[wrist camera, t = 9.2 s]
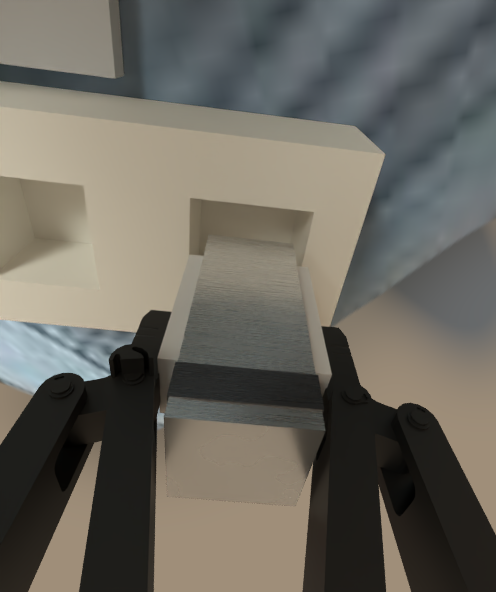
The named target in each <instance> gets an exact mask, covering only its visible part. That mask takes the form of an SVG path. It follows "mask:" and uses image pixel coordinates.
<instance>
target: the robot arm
mask: <svg viewBox="0 0 496 592" xmlns="http://www.w3.org/2000/svg"><path fill="white" fill-rule="evenodd" d="M202 260H203V256H198V255H189V258H188V261H187V264H186V267H185V271H184V274H183V277H182V280H181V283H180V287H179V290H178V293H177V296H176V300H175V303H174V306H173V309H172V312H169V311H159V310H150V311H149V312H148V313H147V314H146V315H145V316H144V317H143V318H142V320H141V322H140V325H139V328H138V330H137V332H136V336H135V337H134V340H133V342H132V344H130V345H124V346H122V347H120V348H118V349H116V350H115V351H114V352H113V353H112V354H111V356H110V358H109V365H110V371H111V375H110V376H108V377H106V378H102V379H97V380H91V381H85V382H84V380H83V379H82V378H81V377H80V376H79V375H77V374H73V373H61V374H58V375H54V376H52V377H51V378H49V379H47V380H46V381H45V382H44V383H43V384H42V385H41V386H40V387H39V388H38V390H37V391H36V393H35V394H34V396H33V398H32V399H31V400H30V402H29V403H28V405H27V406H26V408H25V409H24V411H23V412H22V414H21V415H20V417H19V418H18V420H17V421H16V423H15V424H14V426H13V427H12V428H11V430H10V431H9V433H8V434H7V436H6V437H5V439H4V440H3V442H2V444H1V445H0V592H28V590H29V588H30V585H31V584H32V581H33V579H34V577H35V575H36V572H37V570H38V568H39V566H40V563H41V561H42V559H43V557H44V554H45V552H46V550H47V547H48V545H49V543H50V541H51V539H52V536H53V534H54V532H55V530H56V527H57V525H58V523H59V521H60V518H61V516H62V514H63V512H64V509H65V507H66V505H67V503H68V500H69V498H70V496H71V494H72V491H73V489H74V487H75V485H76V482H77V480H78V478H79V476H80V473H81V471H82V469H83V467H84V464H85V462H86V460H87V458H88V455H89V453H90V451H91V449H92V446H93V444H94V442H98V441H102V445H101V451H100V458H99V465H98V471H97V477H96V484H95V491H94V497H93V504H92V511H91V517H90V524H89V530H88V537H87V544H86V550H85V556H84V563H83V570H82V576H81V583H80V589H79V592H154V546H155V499H156V452H157V450H156V449H157V413H158V409H159V405H160V413H165V410H166V406H167V393H168V389H169V385H170V381H171V377H172V373H173V369H174V365H175V361H176V362H178V358H179V354H180V349H181V345H182V341H183V337H184V333H185V329H186V325H187V321H188V317H189V313H190V309H191V305H192V301H193V297H194V293H195V288H196V284H197V280H198V276H199V272H200V268H201V264H202ZM297 269H298V275H299V280H300V286H301V292H302V298H303V304H304V309H305V315H306V321H307V327H308V332H309V338H310V344H311V350H312V356H313V361H314V367H315V373H316V375H318V377H319V383H320V388H321V394H322V399H323V405H324V412H323V419H324V425H325V434H324V436H323V439H322V441H321V444H320V446H319V449H318V451H317V454H316V456H315V459H314V461H313V471H312V483H311V496H310V509H309V520H308V533H307V545H306V557H305V569H304V581H303V592H386V583H385V569H384V555H383V542H382V528H381V515H380V500H379V487H380V491H381V493H382V497H383V500H384V503H385V507H386V510H387V513H388V517H389V520H390V523H391V526H392V530H393V533H394V536H395V540H396V543H397V546H398V550H399V553H400V556H401V559H402V563H403V566H404V569H405V572H406V576H407V579H408V582H409V586H410V589H411V592H496V535H495V533H494V531H493V529H492V527H491V525H490V523H489V521H488V519H487V517H486V515H485V513H484V511H483V509H482V507H481V505H480V503H479V501H478V499H477V497H476V495H475V493H474V492H473V489H472V488H471V485H470V484H469V482H468V480H467V478H466V476H465V474H464V472H463V470H462V468H461V466H460V464H459V462H458V460H457V458H456V456H455V454H454V452H453V451H452V448H451V446H450V444H449V442H448V440H447V438H446V436H445V434H444V433H443V430H442V428H441V426H440V425H439V423H438V421H437V419H436V418H435V417H434V415H433V414H432V413H431V412H429V411H428V410H427V409H426V408H424V407H422V406H420V405H418V404H413V403H405V404H402V405H401V406H399V407H398V409H394V408H392V407H389V406H386V405H383V404H381V403H379V402H376V401H375V400H373V399H372V398H371V396H370V394H369V393H368V391H367V390H366V389H365V388H363V387H362V386H361V385H360V383H359V379H358V376H357V372H356V369H355V366H354V362H353V359H352V356H351V352H350V349H349V345H348V342H347V338H346V336H345V335H344V334H343V333H342V331H341V330H340V329H339V328H336V327H326V326H321V323H320V318H319V314H318V309H317V304H316V300H315V295H314V291H313V286H312V282H311V277H310V273H309V268H308V267H300V266H297ZM378 484H379V486H378Z"/></svg>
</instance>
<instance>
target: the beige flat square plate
mask: <svg viewBox="0 0 496 592" xmlns="http://www.w3.org/2000/svg"><path fill="white" fill-rule="evenodd" d="M0 64H6V65H14V66H22V67H29V68H37V69H45V70H52V71H60V72H68V73H76V74H83V75H91V76H99V77H106V78H114V79H116V78H119V77H122V76H124V67H123V53H122V40H121V27H120V14H119V1H118V0H0Z"/></svg>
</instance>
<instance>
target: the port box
mask: <svg viewBox="0 0 496 592" xmlns="http://www.w3.org/2000/svg"><path fill="white" fill-rule="evenodd" d="M384 157H385V153H383V152H382V151H381V150H380V149H379V148H378V147H377V146H376V145H375V144H374V143H373V142H372V141H371V140H370V139H368V138H367V137H366V136H365V135H364V134H363V133H362V132H361V131H360V130H359V129H358V128H357V127H356V126H351V125H343V124H335V123H327V122H319V121H311V120H304V119H296V118H288V117H280V116H272V115H264V114H257V113H249V112H241V111H233V110H225V109H217V108H210V107H202V106H194V105H186V104H178V103H170V102H163V101H155V100H147V99H139V98H131V97H123V96H116V95H108V94H100V93H92V92H84V91H77V90H69V89H61V88H53V87H45V86H37V85H30V84H22V83H14V82H6V81H0V320H11V321H21V322H32V323H42V324H53V325H63V326H74V327H84V328H95V329H105V330H116V331H126V332H137V330H138V328H139V325H140V322H141V320H142V318H143V317H144V316H145V315H146V314H147V313H148V312H149V311H150V310H159V311H169V312H172V309H173V306H174V303H175V300H176V296H177V293H178V290H179V287H180V283H181V280H182V277H183V274H184V271H185V267H186V264H187V261H188V258H189V255H198V256H204V252H205V248H206V244H207V240H208V236H209V234H210V235H219V236H228V237H237V238H246V239H255V240H264V241H273V242H282V243H290V244H293V246H294V251H295V257H296V263H297V266H300V267H308V268H309V273H310V277H311V282H312V286H313V291H314V295H315V300H316V304H317V309H318V314H319V318H320V323H321V326H326V327H330V324H331V321H332V318H333V315H334V312H335V309H336V306H337V303H338V299H339V296H340V293H341V290H342V287H343V284H344V281H345V278H346V275H347V272H348V269H349V265H350V262H351V259H352V256H353V253H354V250H355V247H356V244H357V241H358V238H359V235H360V232H361V228H362V225H363V222H364V219H365V216H366V213H367V210H368V207H369V204H370V201H371V198H372V194H373V191H374V188H375V185H376V182H377V179H378V176H379V173H380V170H381V167H382V164H383V160H384Z"/></svg>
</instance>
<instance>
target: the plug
mask: <svg viewBox="0 0 496 592" xmlns="http://www.w3.org/2000/svg"><path fill="white" fill-rule="evenodd" d="M323 412H324V405H323V399H322V394H321V388H320V383H319V377H318V375H316V373H315V367H314V361H313V356H312V350H311V344H310V338H309V332H308V327H307V321H306V315H305V309H304V304H303V298H302V292H301V286H300V280H299V275H298V269H297V263H296V257H295V251H294V246H293V244H290V243H282V242H273V241H264V240H255V239H246V238H237V237H228V236H219V235H210V234H209V236H208V240H207V244H206V248H205V252H204V256H203V260H202V264H201V268H200V272H199V276H198V280H197V284H196V288H195V293H194V297H193V301H192V305H191V309H190V313H189V317H188V321H187V325H186V329H185V333H184V337H183V341H182V345H181V349H180V354H179V358H178V362H176V361H175V365H174V369H173V373H172V377H171V381H170V385H169V389H168V393H167V406H166V410H165V415H164V433H165V459H166V485H167V497H179V498H180V497H181V498H193V499H206V500H219V501H232V502H245V503H246V502H247V503H259V504H271V505H284V506H296V503H297V501H298V498H299V496H300V493H301V491H302V488H303V486H304V483H305V481H306V478H307V476H308V473H309V471H310V468H311V466H312V463H313V461H314V459H315V456H316V454H317V451H318V449H319V446H320V444H321V441H322V439H323V436H324V434H325V425H324V419H323Z"/></svg>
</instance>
